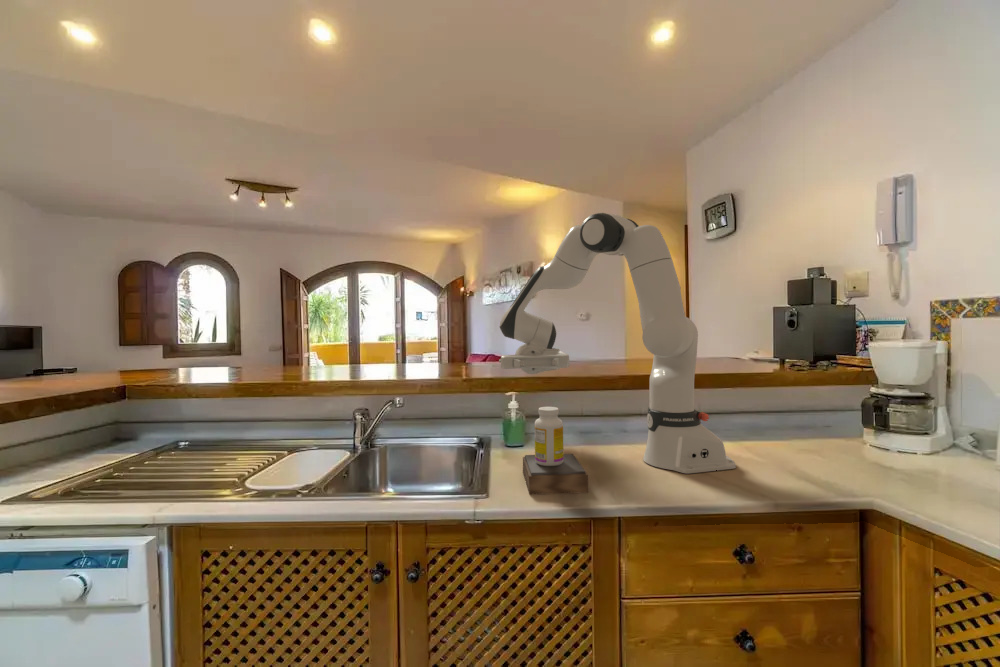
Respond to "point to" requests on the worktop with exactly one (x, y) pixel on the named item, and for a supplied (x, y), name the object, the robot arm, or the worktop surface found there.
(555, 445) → the supplement bottle
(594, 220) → the robot arm
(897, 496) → the worktop surface
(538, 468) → the block
